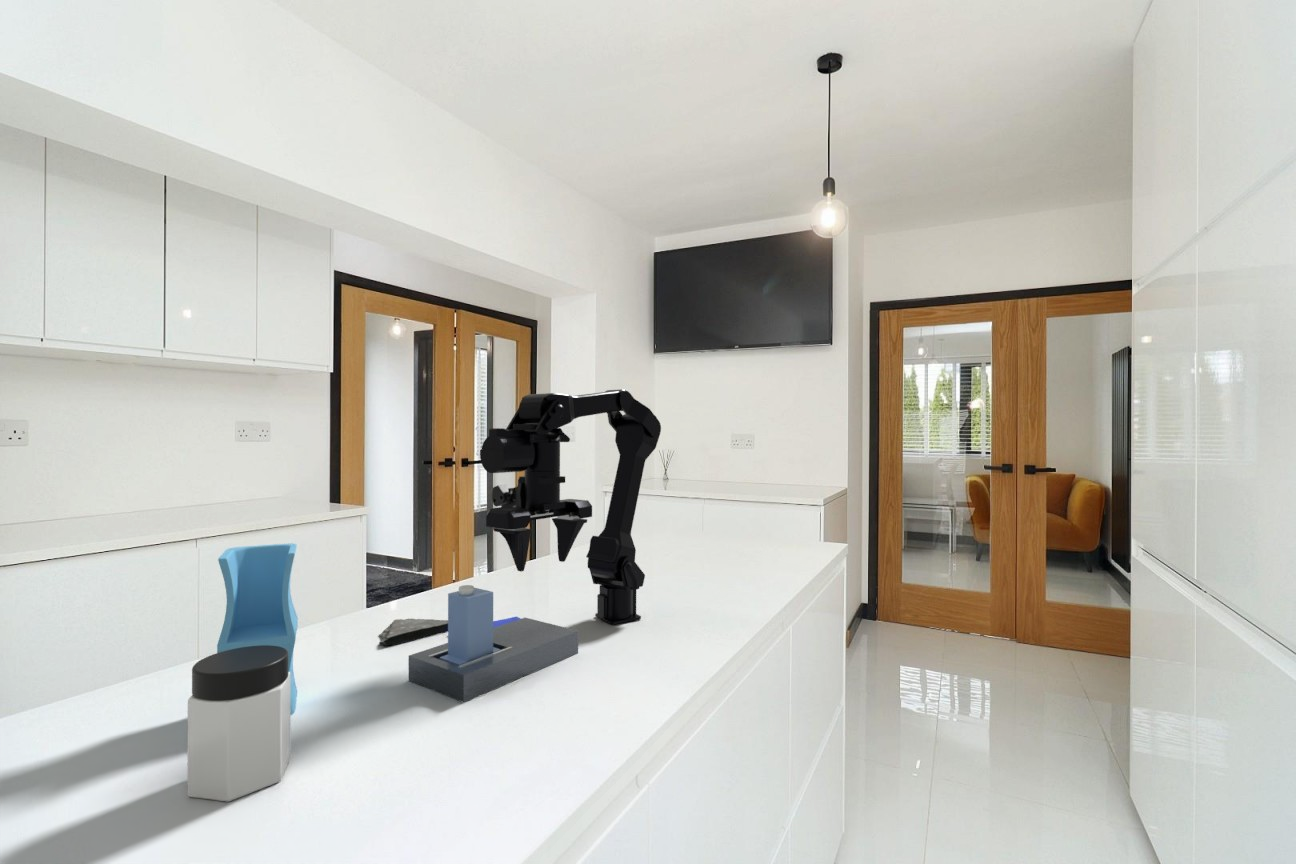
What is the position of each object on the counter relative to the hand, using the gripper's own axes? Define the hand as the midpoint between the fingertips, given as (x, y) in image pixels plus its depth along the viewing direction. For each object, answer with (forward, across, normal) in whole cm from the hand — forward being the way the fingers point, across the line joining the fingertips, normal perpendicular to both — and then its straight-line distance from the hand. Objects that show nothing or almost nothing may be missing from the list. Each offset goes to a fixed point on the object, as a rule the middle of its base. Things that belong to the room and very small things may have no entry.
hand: (542, 566), depth 101 cm
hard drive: (+14, 0, -11) cm, 18 cm away
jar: (+13, +45, +4) cm, 47 cm away
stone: (+14, +8, -23) cm, 28 cm away
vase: (+13, +37, -12) cm, 41 cm away
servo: (+13, +15, +1) cm, 20 cm away
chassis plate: (+13, +10, +1) cm, 16 cm away
